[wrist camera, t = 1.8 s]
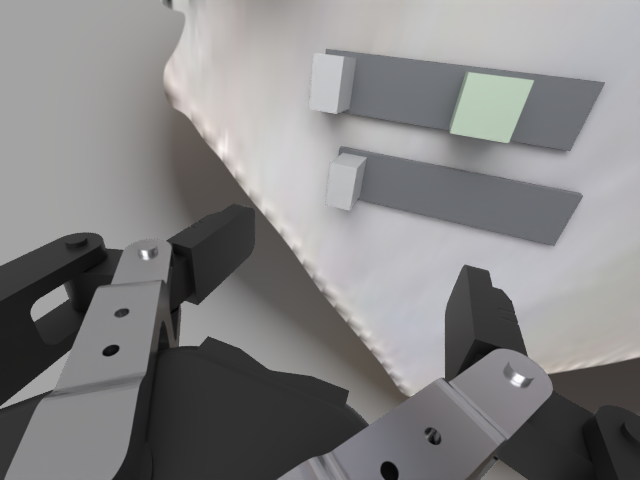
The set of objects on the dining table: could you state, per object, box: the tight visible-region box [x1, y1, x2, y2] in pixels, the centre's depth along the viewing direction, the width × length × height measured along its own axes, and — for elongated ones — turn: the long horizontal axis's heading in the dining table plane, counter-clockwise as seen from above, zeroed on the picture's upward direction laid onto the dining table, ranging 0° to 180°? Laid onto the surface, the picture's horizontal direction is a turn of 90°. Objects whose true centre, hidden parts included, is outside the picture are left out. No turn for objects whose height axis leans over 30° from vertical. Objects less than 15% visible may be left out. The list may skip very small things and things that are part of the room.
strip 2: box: [325, 146, 583, 246], centre depth 35 cm, size 26×6×6 cm, turn 83°
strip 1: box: [309, 49, 605, 151], centre depth 30 cm, size 26×6×6 cm, turn 83°
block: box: [449, 72, 534, 143], centre depth 29 cm, size 5×5×5 cm
